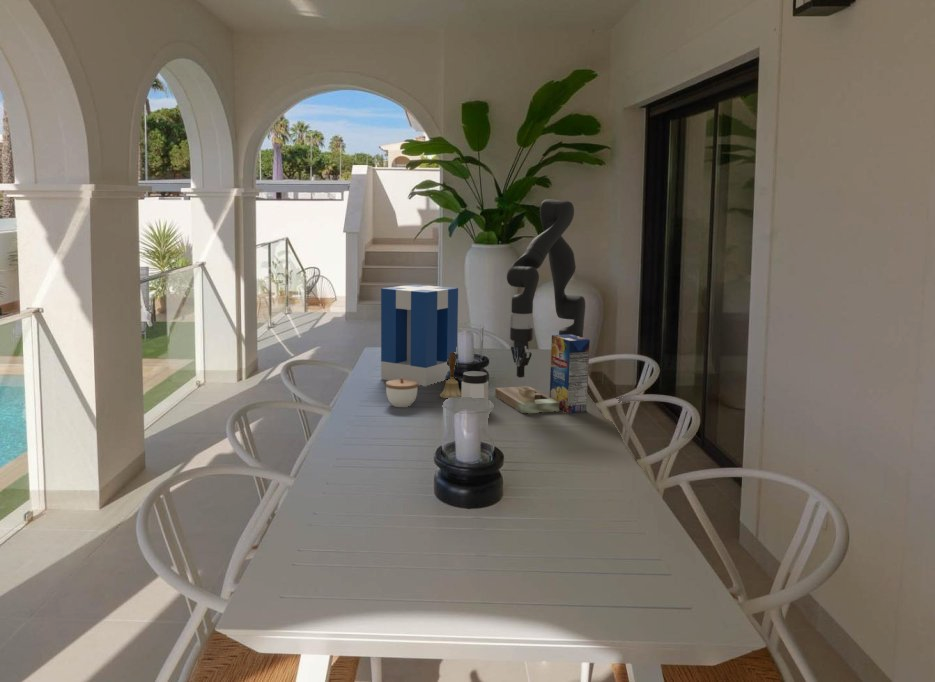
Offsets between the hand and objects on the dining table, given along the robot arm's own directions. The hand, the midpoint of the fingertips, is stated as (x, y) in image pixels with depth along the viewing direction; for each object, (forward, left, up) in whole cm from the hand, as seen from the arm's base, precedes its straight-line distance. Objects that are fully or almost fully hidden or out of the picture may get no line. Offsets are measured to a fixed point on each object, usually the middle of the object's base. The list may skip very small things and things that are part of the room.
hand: (520, 376), depth 267 cm
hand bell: (+19, -18, -10) cm, 28 cm away
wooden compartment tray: (-3, -1, -10) cm, 10 cm away
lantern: (+22, -50, -10) cm, 55 cm away
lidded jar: (+39, -10, -10) cm, 41 cm away
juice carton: (-14, +8, -10) cm, 19 cm away
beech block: (0, +6, -7) cm, 9 cm away
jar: (+17, +1, -10) cm, 19 cm away
